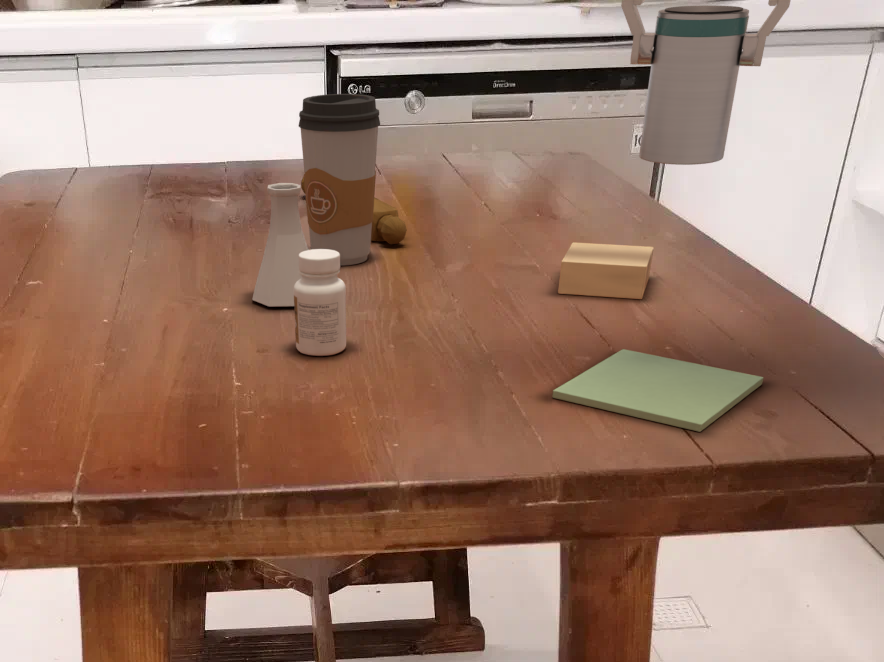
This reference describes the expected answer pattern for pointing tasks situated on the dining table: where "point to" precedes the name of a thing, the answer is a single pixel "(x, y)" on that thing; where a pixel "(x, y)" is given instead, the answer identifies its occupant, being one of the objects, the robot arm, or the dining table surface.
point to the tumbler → (692, 83)
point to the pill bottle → (320, 304)
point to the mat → (659, 389)
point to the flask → (281, 248)
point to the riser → (605, 270)
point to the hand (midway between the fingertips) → (695, 64)
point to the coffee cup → (340, 172)
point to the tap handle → (384, 222)
